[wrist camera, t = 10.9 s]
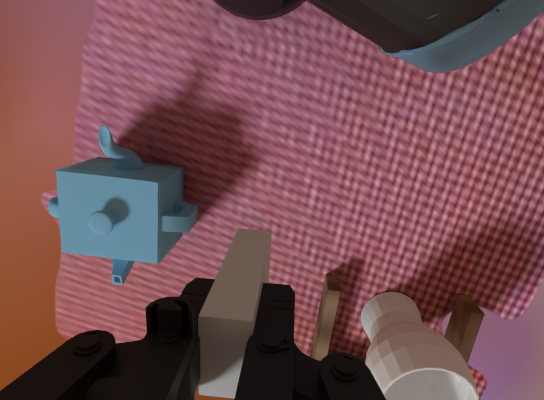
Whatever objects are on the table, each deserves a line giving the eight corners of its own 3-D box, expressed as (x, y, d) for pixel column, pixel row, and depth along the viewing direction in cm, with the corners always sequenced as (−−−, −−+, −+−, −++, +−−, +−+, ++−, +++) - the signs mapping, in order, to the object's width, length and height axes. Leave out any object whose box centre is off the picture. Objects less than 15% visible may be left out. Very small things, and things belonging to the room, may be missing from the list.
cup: (445, 300, 47) (509, 389, 33) (405, 360, 50) (447, 465, 36) (373, 269, 47) (406, 345, 33) (336, 331, 50) (352, 426, 36)
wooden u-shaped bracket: (326, 274, 48) (328, 289, 44) (469, 296, 47) (484, 313, 43) (309, 357, 51) (310, 378, 48) (441, 379, 51) (453, 402, 47)
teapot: (91, 246, 49) (33, 289, 38) (85, 112, 44) (16, 117, 33) (205, 260, 48) (179, 307, 37) (212, 126, 43) (183, 135, 32)
